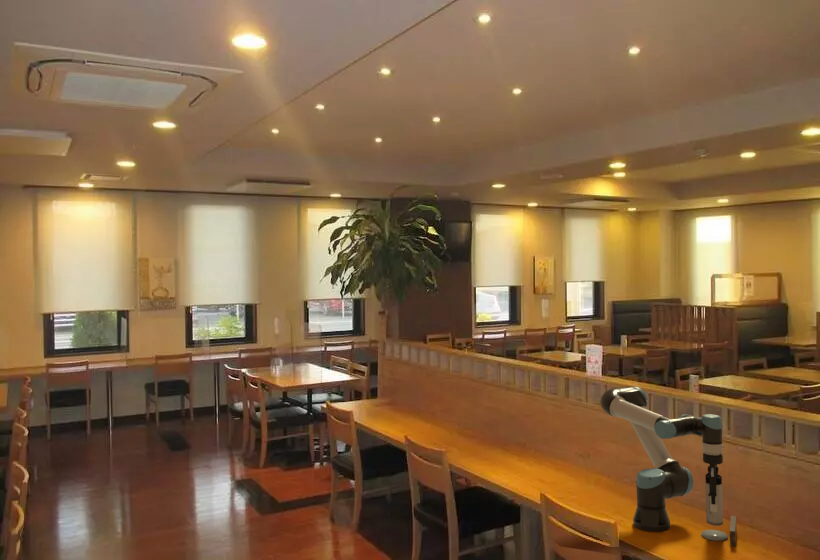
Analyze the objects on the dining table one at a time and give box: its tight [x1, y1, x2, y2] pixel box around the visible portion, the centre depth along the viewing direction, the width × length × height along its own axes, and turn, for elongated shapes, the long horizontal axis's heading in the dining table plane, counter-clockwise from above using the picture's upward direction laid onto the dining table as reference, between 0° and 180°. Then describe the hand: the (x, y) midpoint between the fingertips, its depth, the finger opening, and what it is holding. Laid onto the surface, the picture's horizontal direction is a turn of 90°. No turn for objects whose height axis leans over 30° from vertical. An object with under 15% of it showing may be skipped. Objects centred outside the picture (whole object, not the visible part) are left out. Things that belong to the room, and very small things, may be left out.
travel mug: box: [704, 473, 724, 527], centre depth 285 cm, size 6×7×20 cm
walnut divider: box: [729, 515, 737, 547], centre depth 283 cm, size 2×18×6 cm, turn 154°
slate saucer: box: [700, 529, 729, 542], centre depth 285 cm, size 10×10×1 cm
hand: (714, 508), depth 285 cm, fingers closed on travel mug, 6 cm apart
